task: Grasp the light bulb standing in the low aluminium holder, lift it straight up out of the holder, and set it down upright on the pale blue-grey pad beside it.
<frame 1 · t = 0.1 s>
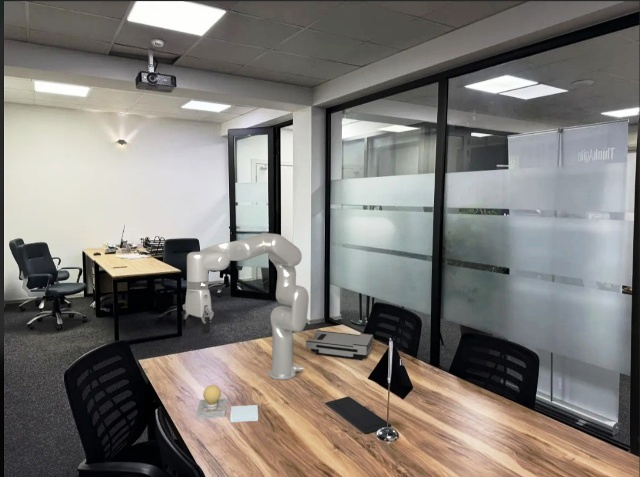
hand: (197, 330, 159), 31 cm above the table, tool pointing down, fingers open, 9 cm apart
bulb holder: (212, 411, 161), on the table
game console: (340, 352, 228), on the table
light bulb: (212, 411, 161), resting in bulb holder
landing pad: (244, 414, 159), on the table
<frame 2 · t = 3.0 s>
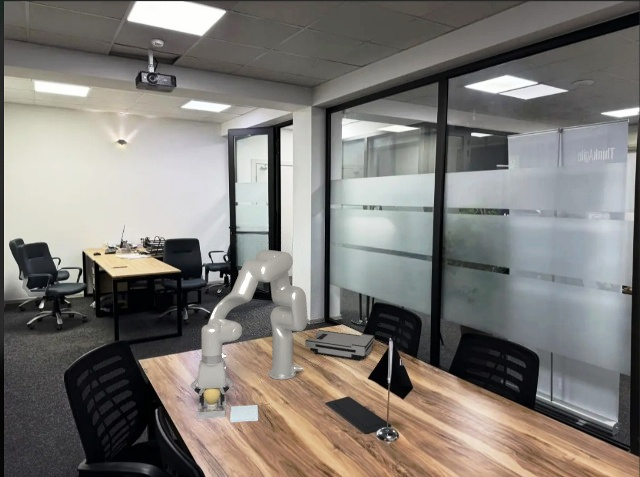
hand: (212, 403, 161), 3 cm above the table, tool pointing down, fingers closed on light bulb, 6 cm apart
light bulb: (212, 411, 161), resting in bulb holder, touching gripper
when the fingers open (5 cm above the table, at t = 8.7 s): light bulb stays where it is, resting on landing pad.
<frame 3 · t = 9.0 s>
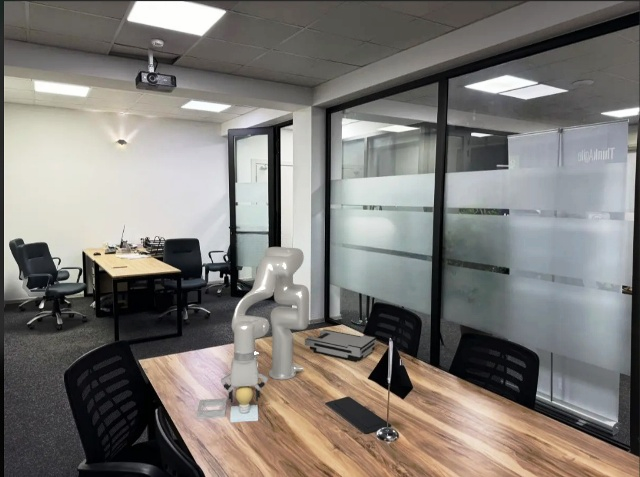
hand: (244, 400, 158), 6 cm above the table, tool pointing down, fingers open, 9 cm apart
light bulb: (244, 412, 159), point 1 cm above the table, touching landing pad
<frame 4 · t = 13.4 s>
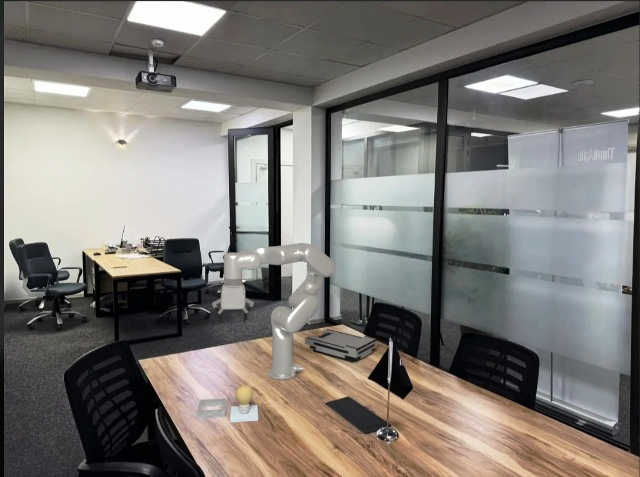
hand: (233, 322, 180), 28 cm above the table, tool pointing down, fingers open, 9 cm apart
at the end: light bulb inside the target area on the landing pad (0.2 cm from its centre), point 0.8 cm above the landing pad's base; light bulb tilted 0°; the gripper is holding nothing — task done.
